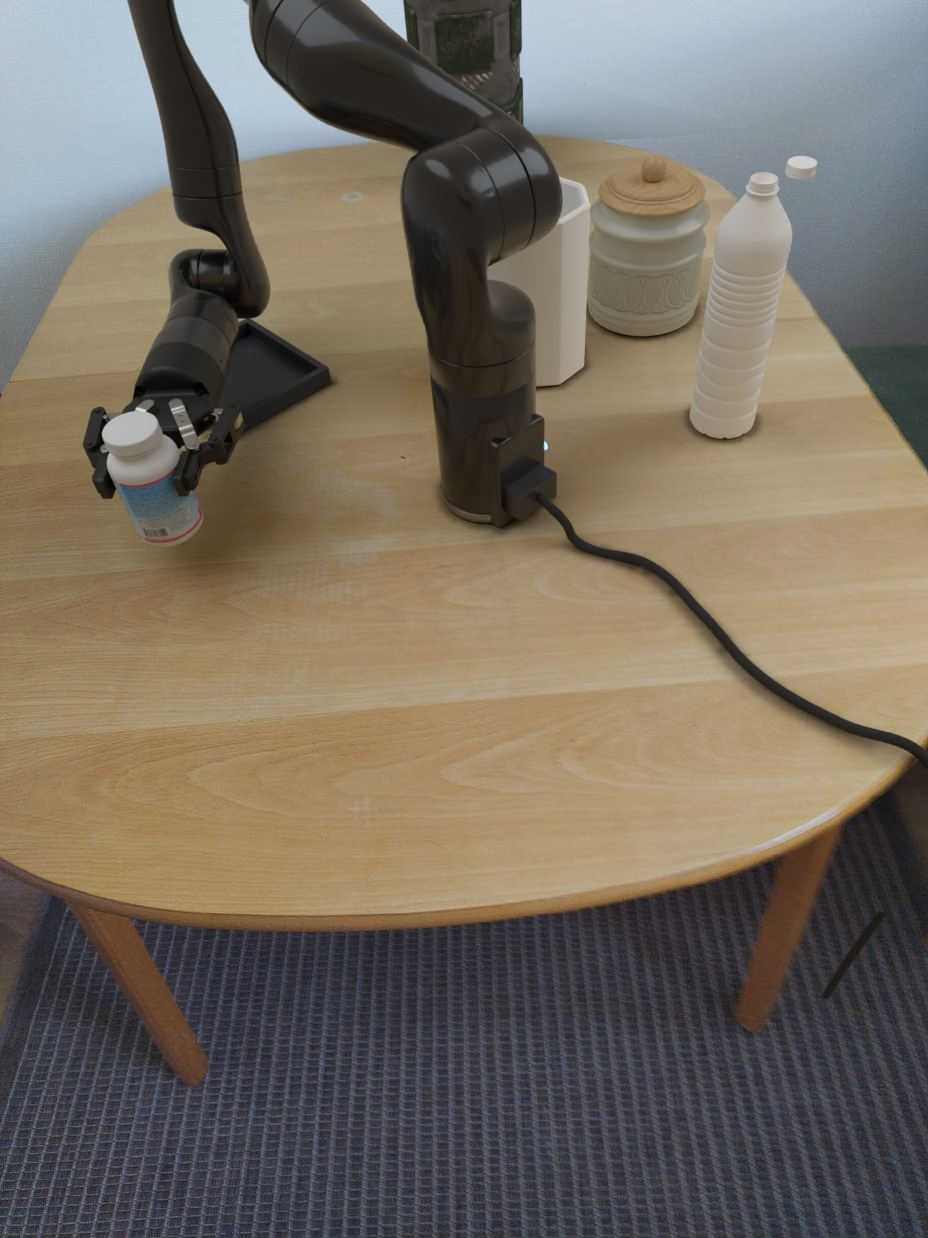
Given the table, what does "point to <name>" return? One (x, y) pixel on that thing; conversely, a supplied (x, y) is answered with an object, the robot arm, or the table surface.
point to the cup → (556, 287)
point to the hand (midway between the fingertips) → (141, 489)
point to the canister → (473, 45)
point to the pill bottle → (149, 480)
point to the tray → (269, 374)
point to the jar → (647, 248)
